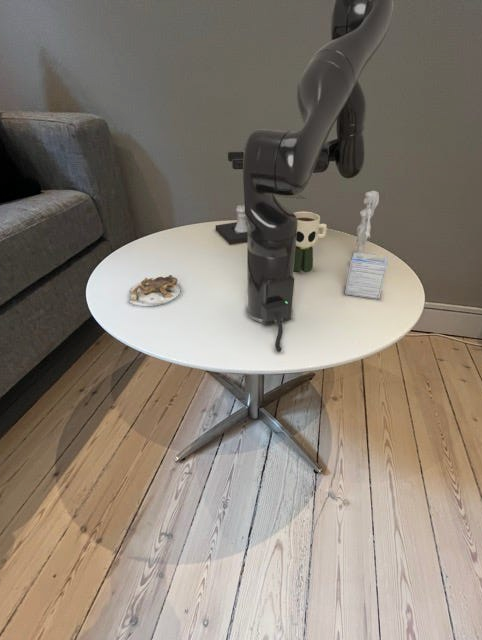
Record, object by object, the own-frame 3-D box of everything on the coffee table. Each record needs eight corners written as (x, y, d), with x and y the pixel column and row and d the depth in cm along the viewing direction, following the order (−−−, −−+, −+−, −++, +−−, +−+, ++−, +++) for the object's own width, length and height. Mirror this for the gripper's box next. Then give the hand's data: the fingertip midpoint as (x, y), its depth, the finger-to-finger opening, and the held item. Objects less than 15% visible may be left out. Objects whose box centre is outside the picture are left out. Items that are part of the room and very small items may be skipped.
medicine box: (379, 291, 91) (388, 255, 85) (379, 300, 88) (388, 264, 82) (346, 286, 93) (352, 251, 87) (344, 295, 89) (351, 259, 84)
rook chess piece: (243, 238, 114) (242, 209, 108) (231, 234, 116) (230, 206, 110) (252, 233, 116) (252, 205, 111) (240, 230, 118) (240, 202, 113)
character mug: (280, 275, 97) (284, 221, 88) (277, 262, 102) (280, 211, 93) (323, 274, 97) (331, 221, 88) (318, 262, 102) (325, 211, 94)
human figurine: (348, 254, 106) (362, 183, 94) (362, 255, 106) (377, 184, 94) (351, 274, 97) (366, 198, 85) (366, 275, 97) (383, 199, 85)
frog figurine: (180, 279, 94) (178, 264, 91) (181, 304, 85) (179, 288, 82) (132, 282, 92) (128, 267, 90) (127, 308, 84) (123, 292, 81)
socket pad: (268, 238, 114) (268, 233, 113) (230, 244, 110) (230, 239, 109) (251, 224, 122) (251, 219, 121) (215, 230, 118) (215, 225, 117)
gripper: (284, 137, 106) (226, 138, 104) (298, 148, 96) (233, 149, 93) (282, 168, 111) (226, 169, 109) (295, 181, 101) (234, 183, 98)
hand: (230, 160), depth 101 cm, fingers open, 8 cm apart
